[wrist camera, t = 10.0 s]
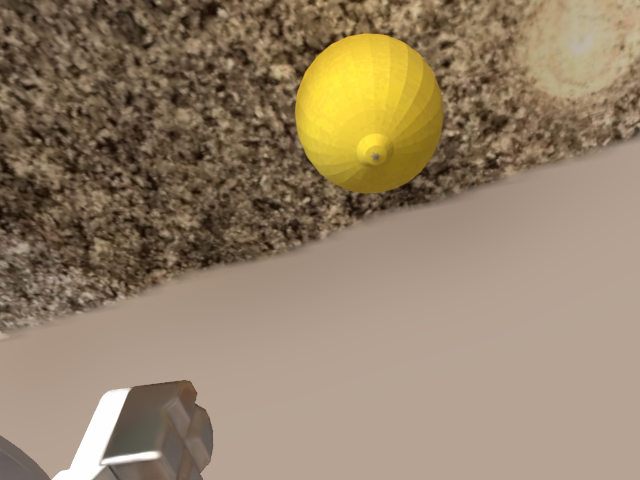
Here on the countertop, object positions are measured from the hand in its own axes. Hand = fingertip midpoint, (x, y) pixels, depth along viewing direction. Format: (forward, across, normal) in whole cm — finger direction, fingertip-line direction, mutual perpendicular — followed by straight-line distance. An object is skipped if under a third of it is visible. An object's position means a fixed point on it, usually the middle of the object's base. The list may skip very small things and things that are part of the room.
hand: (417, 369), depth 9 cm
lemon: (+17, 0, 0) cm, 17 cm away
